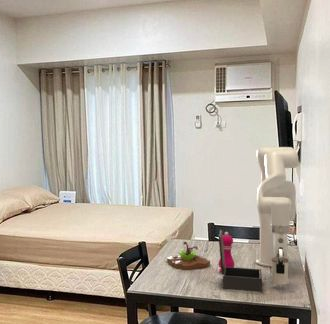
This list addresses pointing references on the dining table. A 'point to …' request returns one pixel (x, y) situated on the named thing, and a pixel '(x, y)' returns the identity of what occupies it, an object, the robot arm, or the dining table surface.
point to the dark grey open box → (242, 279)
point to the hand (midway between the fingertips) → (279, 270)
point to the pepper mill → (227, 251)
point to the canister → (276, 277)
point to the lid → (222, 252)
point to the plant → (188, 259)
